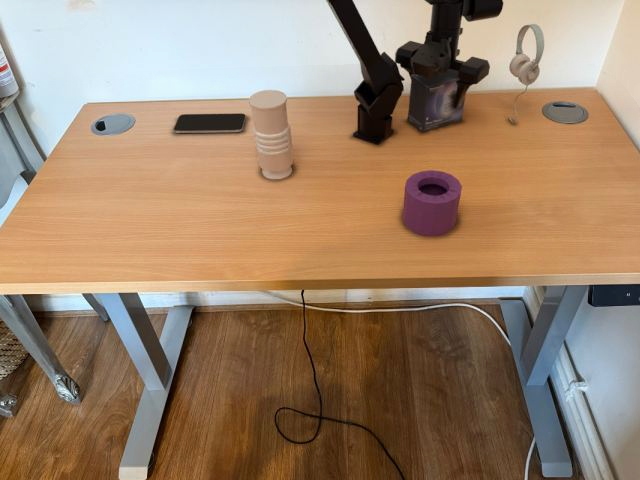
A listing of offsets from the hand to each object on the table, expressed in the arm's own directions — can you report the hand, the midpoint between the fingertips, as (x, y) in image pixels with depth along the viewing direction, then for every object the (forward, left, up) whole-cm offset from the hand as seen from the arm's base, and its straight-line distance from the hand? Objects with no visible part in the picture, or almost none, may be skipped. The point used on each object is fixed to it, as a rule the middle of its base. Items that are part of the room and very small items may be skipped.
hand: (436, 101), depth 113 cm
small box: (0, 0, -5) cm, 5 cm away
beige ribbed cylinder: (-16, -34, -5) cm, 38 cm away
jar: (+16, -30, -5) cm, 34 cm away
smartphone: (-40, -29, -5) cm, 50 cm away
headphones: (+14, +9, -5) cm, 17 cm away
